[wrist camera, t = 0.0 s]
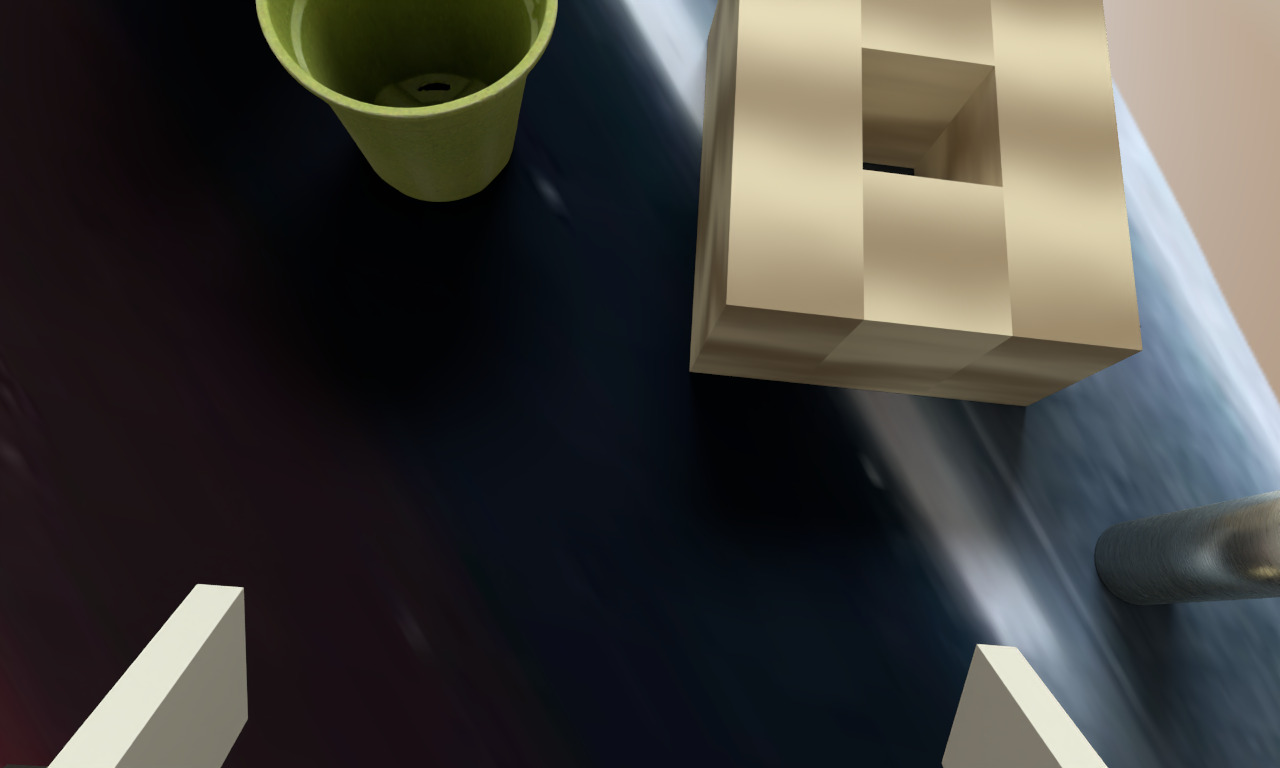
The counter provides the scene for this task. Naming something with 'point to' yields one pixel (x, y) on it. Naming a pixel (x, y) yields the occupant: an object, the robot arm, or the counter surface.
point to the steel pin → (1195, 554)
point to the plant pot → (417, 80)
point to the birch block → (912, 198)
